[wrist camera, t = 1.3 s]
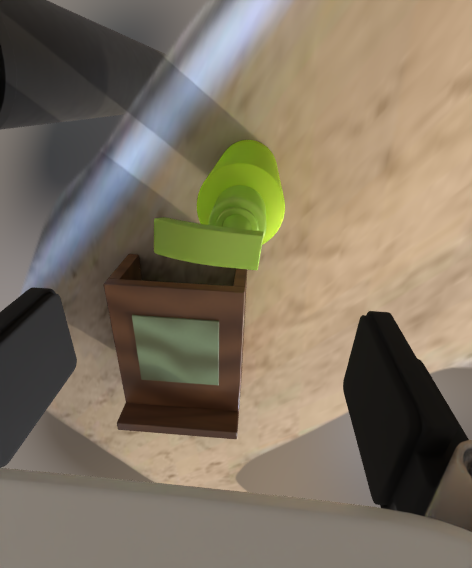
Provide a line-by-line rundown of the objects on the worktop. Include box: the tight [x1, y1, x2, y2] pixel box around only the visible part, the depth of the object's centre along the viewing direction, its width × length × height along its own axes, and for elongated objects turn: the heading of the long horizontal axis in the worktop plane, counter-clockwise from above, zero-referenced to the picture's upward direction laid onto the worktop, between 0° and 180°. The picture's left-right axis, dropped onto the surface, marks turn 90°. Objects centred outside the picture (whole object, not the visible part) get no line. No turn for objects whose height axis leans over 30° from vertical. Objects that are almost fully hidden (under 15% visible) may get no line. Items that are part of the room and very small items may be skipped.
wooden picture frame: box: [104, 254, 247, 439], centre depth 39 cm, size 18×14×10 cm
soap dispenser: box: [154, 140, 285, 270], centre depth 25 cm, size 6×7×20 cm
